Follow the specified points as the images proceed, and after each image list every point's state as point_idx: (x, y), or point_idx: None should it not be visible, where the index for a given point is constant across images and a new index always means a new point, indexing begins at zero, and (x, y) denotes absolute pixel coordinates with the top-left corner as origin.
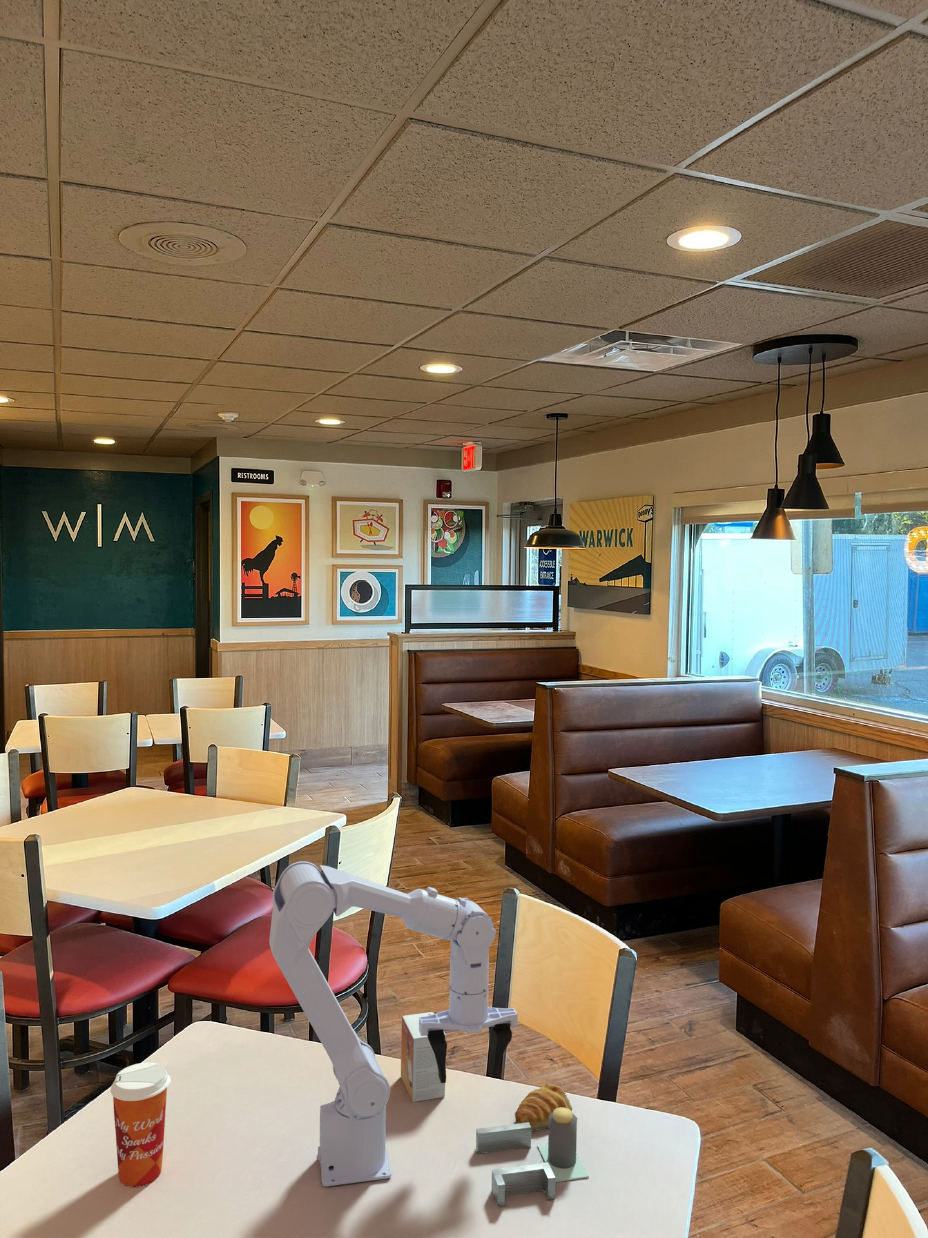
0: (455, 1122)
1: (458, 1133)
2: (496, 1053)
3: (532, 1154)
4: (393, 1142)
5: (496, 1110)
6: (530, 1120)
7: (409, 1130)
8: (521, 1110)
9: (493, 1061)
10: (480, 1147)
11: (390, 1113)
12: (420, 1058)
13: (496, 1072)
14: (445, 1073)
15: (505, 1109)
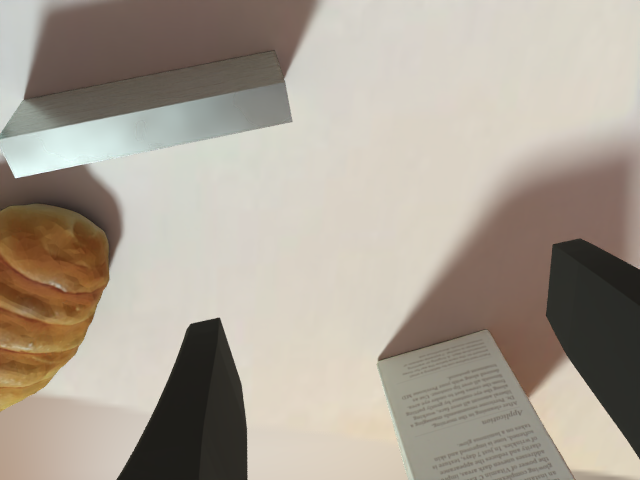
0: (352, 243)
1: (346, 183)
2: (187, 474)
3: (8, 50)
4: (601, 124)
5: (190, 314)
6: (24, 228)
7: (527, 193)
8: (73, 282)
9: (215, 415)
10: (265, 61)
11: None
12: (532, 465)
13: (188, 345)
14: (605, 276)
15: (155, 322)
